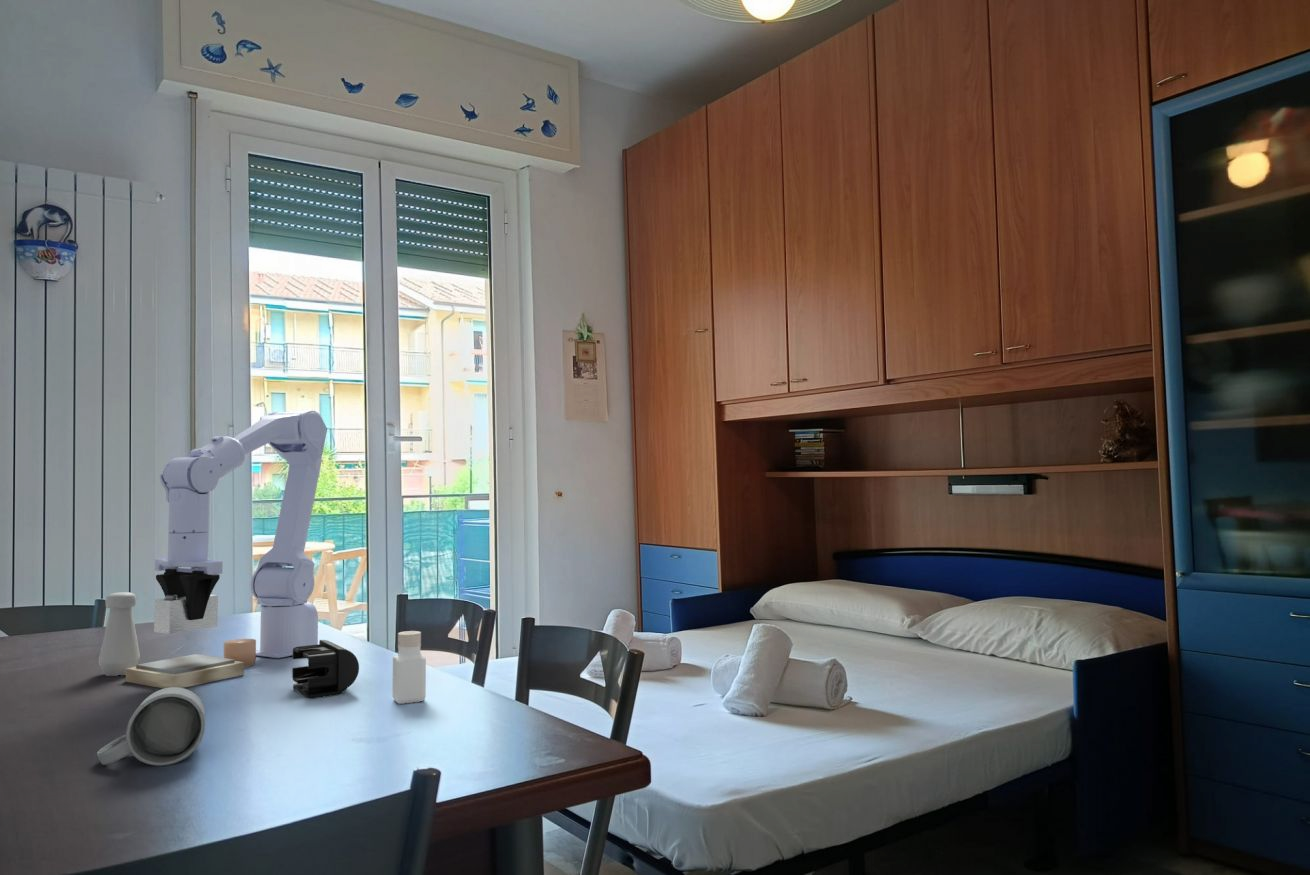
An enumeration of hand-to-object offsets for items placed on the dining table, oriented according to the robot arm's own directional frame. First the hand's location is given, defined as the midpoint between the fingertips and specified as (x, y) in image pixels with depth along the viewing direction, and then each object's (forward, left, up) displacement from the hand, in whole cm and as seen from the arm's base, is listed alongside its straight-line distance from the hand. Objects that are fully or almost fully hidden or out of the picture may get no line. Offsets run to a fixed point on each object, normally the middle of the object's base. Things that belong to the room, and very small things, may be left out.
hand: (186, 618), depth 143 cm
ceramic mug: (+27, +36, -10) cm, 46 cm away
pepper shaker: (-6, +42, -10) cm, 43 cm away
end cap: (-5, +26, -10) cm, 28 cm away
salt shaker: (+3, -13, -10) cm, 16 cm away
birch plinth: (0, 0, -9) cm, 9 cm away
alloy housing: (0, 0, -2) cm, 2 cm away
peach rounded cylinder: (-11, -2, -10) cm, 15 cm away
